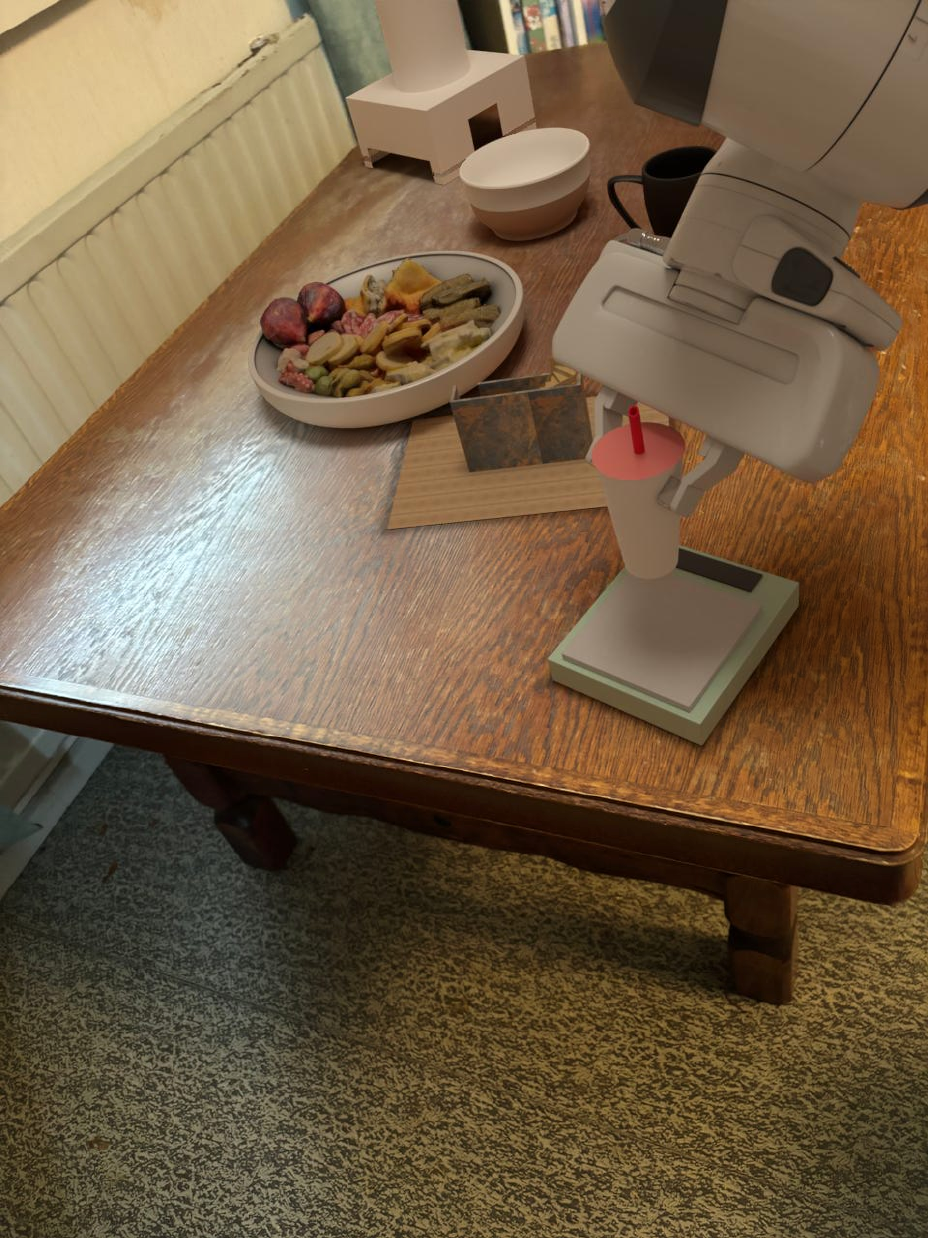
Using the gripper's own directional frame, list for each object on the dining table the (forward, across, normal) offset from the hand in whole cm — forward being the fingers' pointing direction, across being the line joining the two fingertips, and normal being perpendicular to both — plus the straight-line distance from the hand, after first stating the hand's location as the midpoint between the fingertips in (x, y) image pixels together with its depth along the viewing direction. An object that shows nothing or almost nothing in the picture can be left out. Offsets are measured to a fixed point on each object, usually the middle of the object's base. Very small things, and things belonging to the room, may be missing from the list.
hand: (635, 489), depth 57 cm
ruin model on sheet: (+5, -26, +18) cm, 32 cm away
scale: (+10, 0, +13) cm, 16 cm away
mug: (-19, -42, +42) cm, 63 cm away
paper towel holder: (-24, -95, +47) cm, 109 cm away
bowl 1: (+3, -51, +19) cm, 55 cm away
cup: (+4, 0, +5) cm, 7 cm away
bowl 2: (-18, -64, +41) cm, 77 cm away
